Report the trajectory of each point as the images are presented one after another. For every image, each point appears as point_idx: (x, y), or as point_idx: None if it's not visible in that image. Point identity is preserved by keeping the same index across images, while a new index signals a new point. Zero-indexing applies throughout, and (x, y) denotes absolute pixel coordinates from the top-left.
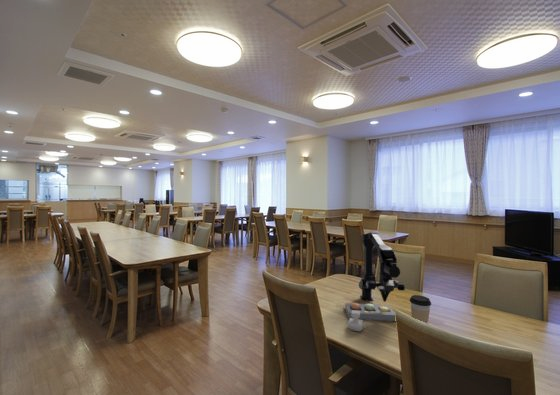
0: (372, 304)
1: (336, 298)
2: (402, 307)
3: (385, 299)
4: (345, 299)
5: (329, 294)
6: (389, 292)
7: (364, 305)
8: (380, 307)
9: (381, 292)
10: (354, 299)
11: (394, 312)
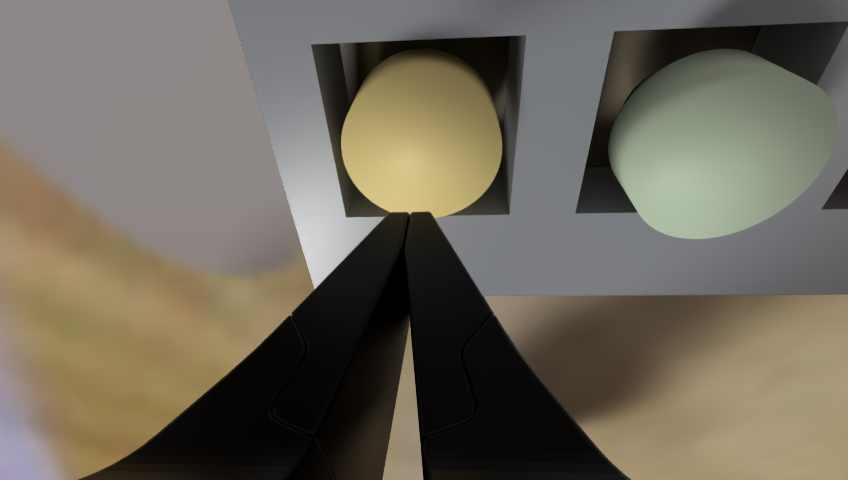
0: (644, 208)
1: (792, 424)
2: (182, 332)
3: (389, 241)
4: (710, 415)
5: (799, 470)
6: (127, 472)
7: (700, 252)
8: (484, 171)
9: (600, 460)
10: (616, 420)
11: (242, 34)
